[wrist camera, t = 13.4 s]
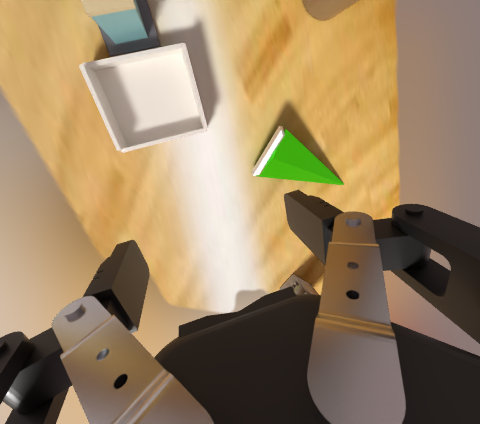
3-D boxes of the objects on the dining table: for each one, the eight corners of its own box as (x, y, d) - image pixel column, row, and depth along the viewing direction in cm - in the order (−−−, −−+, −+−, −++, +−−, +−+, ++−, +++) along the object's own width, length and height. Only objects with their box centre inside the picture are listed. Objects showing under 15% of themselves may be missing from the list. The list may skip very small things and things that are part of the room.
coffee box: (278, 289, 64) (305, 339, 50) (292, 273, 63) (325, 319, 48) (299, 300, 68) (330, 350, 53) (313, 285, 67) (349, 332, 52)
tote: (183, 48, 38) (184, 38, 33) (205, 129, 43) (208, 131, 39) (90, 67, 36) (76, 60, 31) (126, 150, 42) (118, 154, 37)
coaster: (141, -18, 34) (140, -20, 33) (160, 46, 37) (160, 45, 36) (85, -8, 33) (84, -11, 32) (111, 56, 36) (110, 55, 36)
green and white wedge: (353, 158, 56) (274, 118, 44) (367, 170, 52) (284, 129, 40) (323, 193, 61) (246, 165, 49) (333, 206, 58) (253, 179, 46)
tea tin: (135, -4, 34) (112, -61, 23) (148, 38, 36) (134, 4, 25) (99, 2, 33) (59, -53, 22) (115, 44, 35) (86, 13, 24)
